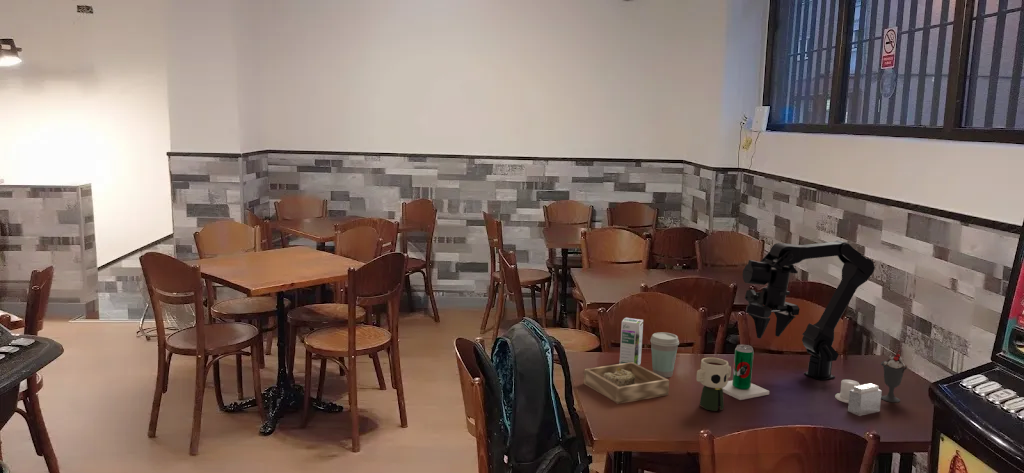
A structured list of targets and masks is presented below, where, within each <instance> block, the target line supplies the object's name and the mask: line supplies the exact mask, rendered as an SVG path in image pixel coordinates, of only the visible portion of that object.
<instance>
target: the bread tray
mask: <svg viewBox="0 0 1024 473" xmlns="http://www.w3.org/2000/svg"><path fill="white" fill-rule="evenodd" d="M618 368H620V369H624V370H627V371H630V372H632V373H633V374H634V375H635V376H636V378H635V380H634V382H635V384H633V385H627V386H621V387H619V386H617V385H616V384H614V383H612V382H610V381H608V380H607V379H605V378H603V377H604V373H608V372H609V373H615V372H617V369H618ZM583 384H584V385H586V386H587V387H589V388H591V389H592V390H594V391H596V392H597V393H599V394H601V395H602V396H604V397H606V398H607V399H609V400H611V401H613V402H614V403H616V404H618V405H619V404H624V403H632V402H636V401H642V400H648V399H653V398H657V397H664V396H668V395H669V387H670V380H669V379H668V378H664V377H662V376H660V375H658V374H656V373H654V372H653V370H649V369H647V368H646V367H643V366H642V365H641V364H640V365H638V364H636V363H634V362H629V363H622V364H619V363H616V364H610V365H603V366H597V367H588V368H585V369H584V371H583Z"/></svg>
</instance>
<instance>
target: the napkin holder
mask: <svg viewBox="0 0 1024 473" xmlns="http://www.w3.org/2000/svg"><path fill="white" fill-rule="evenodd" d="M879 387H880V386H879V385H877V384H874V383H871V382H870V383H864V384H859V386H854V389H853V390H850V394H849V403H847V404H848V406H847V412H849V413H852V414H853V415H856V416H859V417H862V416H865V415H870V414H875V413H879V412H880V411H881V402H882V399H881V396H882V392H883V391H882V390H881V389H879Z"/></svg>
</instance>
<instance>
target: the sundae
mask: <svg viewBox="0 0 1024 473" xmlns="http://www.w3.org/2000/svg"><path fill="white" fill-rule="evenodd" d="M899 352H900V349H898V350H897V352H896V353H895V354H892V355H890V356H889V358H888V359H887V360H883V361H882V362H881V363H880V365H881V366H882V367H883V380H884V383H885V384H886V386H887V387H888V388H889V389H888V393H887V394H886V395H881V400H883V401H885V402H889V403H893V404H895V403H900V402H901V399H900V398H898V397H896V396H895V392H894V391H895V388H897V387H899V386H900V385H901V383H902V381H903V376H904V372H905V371H906V370H907V369H908V366H907V365H906V364H905V363H904V361H903V358H902V357H901V354H899Z"/></svg>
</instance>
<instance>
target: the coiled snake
mask: <svg viewBox="0 0 1024 473" xmlns="http://www.w3.org/2000/svg"><path fill="white" fill-rule="evenodd" d="M603 378H605V379H607V380H608V381H610V382H612V383H614V384H616V385H617V386H619V387H621V386H627V385H633V384H635V382H634V380H635V378H636V376H635V375H634V374H633V373H632V372H630V371H627V370H624V369H620V368H618V369H617V372H615V373H609V372H608V373H604V377H603Z"/></svg>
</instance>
